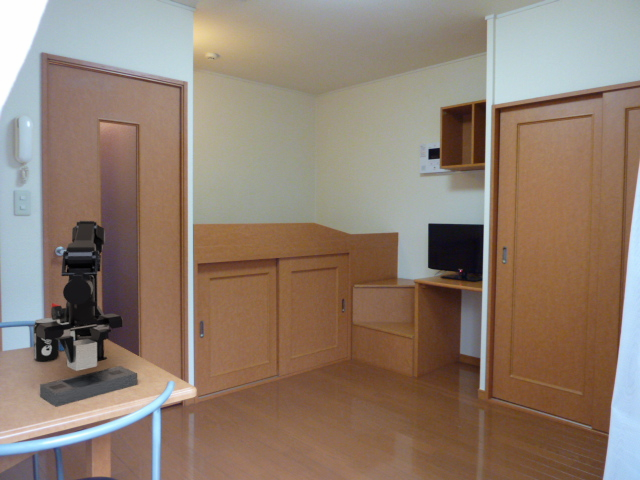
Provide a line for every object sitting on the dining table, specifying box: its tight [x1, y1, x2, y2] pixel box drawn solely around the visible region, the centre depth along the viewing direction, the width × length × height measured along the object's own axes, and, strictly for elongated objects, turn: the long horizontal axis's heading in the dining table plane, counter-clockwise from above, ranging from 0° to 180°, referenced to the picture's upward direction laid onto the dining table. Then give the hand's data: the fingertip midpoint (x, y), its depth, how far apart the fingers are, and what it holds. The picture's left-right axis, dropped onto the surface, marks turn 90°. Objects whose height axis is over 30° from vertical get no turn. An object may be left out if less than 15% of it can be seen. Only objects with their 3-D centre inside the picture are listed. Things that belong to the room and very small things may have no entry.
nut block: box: [66, 339, 98, 372], centre depth 119 cm, size 5×5×6 cm
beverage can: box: [32, 317, 60, 363], centre depth 147 cm, size 7×7×12 cm
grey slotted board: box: [39, 365, 138, 407], centre depth 121 cm, size 20×9×3 cm, turn 140°
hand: (82, 360), depth 120 cm, fingers closed on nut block, 5 cm apart
